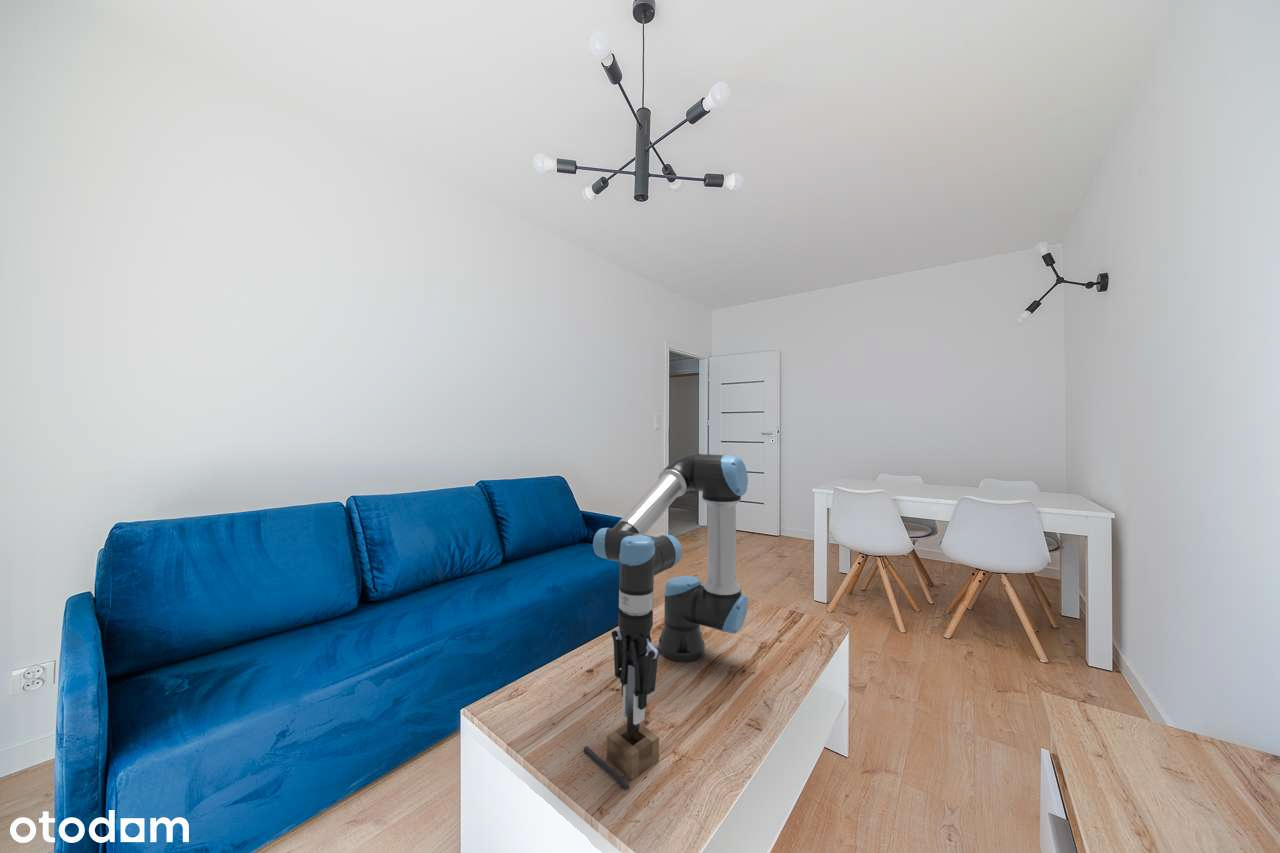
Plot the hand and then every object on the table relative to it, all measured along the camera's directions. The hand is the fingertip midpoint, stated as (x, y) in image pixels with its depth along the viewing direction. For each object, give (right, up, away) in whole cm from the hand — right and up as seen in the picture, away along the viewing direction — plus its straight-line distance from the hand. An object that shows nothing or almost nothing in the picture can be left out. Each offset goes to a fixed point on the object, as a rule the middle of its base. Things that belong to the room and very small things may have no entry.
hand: (633, 717), depth 94 cm
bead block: (0, -9, 0) cm, 9 cm away
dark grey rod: (-6, -9, -3) cm, 11 cm away
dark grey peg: (0, -3, 0) cm, 3 cm away
